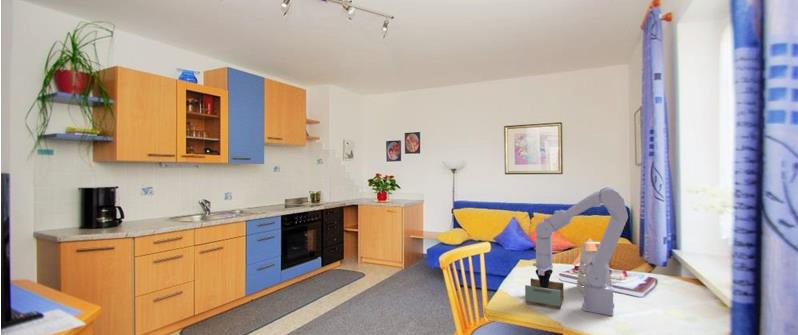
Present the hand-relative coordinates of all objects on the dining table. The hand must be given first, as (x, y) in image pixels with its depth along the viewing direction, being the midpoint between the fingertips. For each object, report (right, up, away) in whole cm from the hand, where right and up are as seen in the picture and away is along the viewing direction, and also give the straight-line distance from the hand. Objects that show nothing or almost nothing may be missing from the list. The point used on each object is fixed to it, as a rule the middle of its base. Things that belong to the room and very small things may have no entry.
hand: (544, 289), depth 138 cm
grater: (+25, -5, +11) cm, 28 cm away
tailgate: (-2, -4, -4) cm, 6 cm away
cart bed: (+1, -5, +1) cm, 5 cm away
